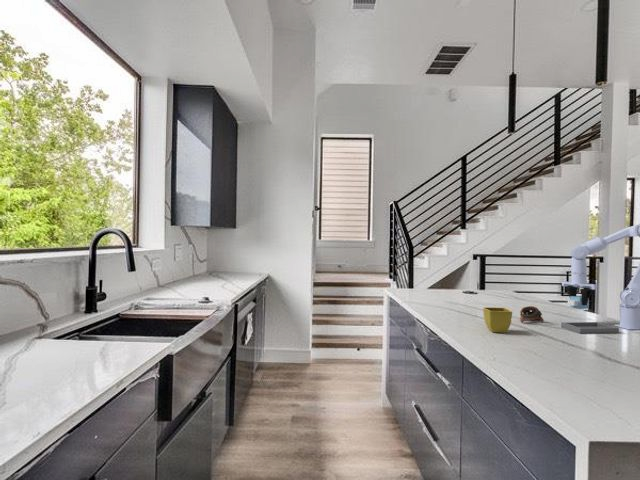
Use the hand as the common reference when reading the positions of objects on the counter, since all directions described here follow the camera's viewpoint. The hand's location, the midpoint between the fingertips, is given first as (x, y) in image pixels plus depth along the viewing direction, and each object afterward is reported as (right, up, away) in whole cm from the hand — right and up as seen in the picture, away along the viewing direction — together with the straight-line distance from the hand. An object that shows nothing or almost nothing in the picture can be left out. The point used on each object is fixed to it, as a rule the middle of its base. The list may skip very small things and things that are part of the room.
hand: (579, 304), depth 177 cm
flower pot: (-42, -9, -15) cm, 46 cm away
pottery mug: (-20, -9, +3) cm, 22 cm away
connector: (0, -2, 0) cm, 2 cm away
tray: (-4, -8, -13) cm, 16 cm away
